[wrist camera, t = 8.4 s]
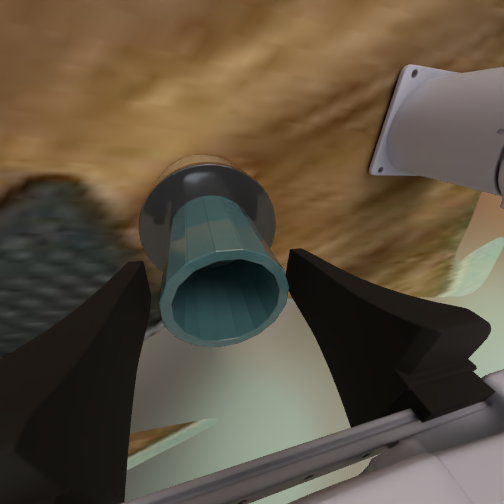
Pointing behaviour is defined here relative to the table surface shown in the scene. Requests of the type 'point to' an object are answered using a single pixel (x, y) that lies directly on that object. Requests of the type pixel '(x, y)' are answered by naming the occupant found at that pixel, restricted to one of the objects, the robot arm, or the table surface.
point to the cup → (219, 275)
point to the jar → (197, 185)
